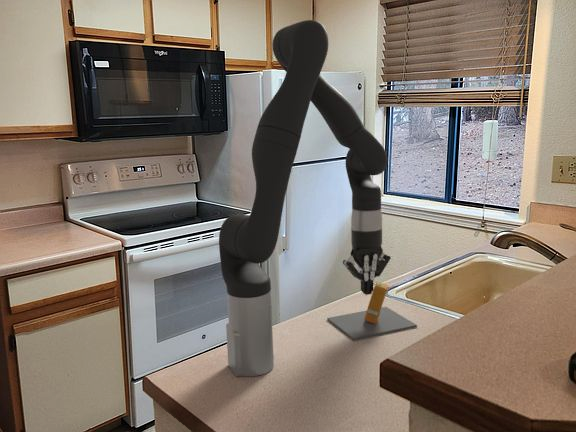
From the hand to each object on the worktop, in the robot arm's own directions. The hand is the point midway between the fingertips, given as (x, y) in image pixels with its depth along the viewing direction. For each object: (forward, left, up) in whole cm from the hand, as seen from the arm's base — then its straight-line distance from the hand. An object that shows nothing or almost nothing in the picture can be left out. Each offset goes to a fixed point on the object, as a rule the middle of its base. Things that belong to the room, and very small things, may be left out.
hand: (366, 293), depth 133 cm
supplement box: (+1, 0, -8) cm, 8 cm away
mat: (+1, 0, -8) cm, 8 cm away
